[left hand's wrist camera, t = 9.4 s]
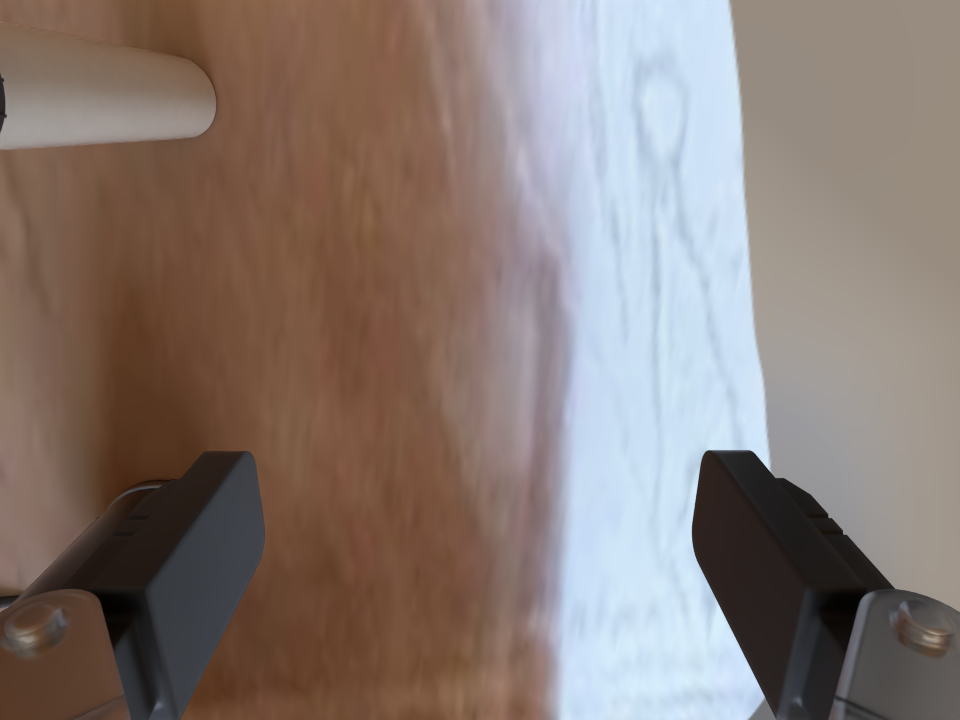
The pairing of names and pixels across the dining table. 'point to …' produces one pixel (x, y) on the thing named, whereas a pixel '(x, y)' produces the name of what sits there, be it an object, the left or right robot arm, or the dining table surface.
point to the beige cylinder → (96, 91)
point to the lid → (2, 103)
